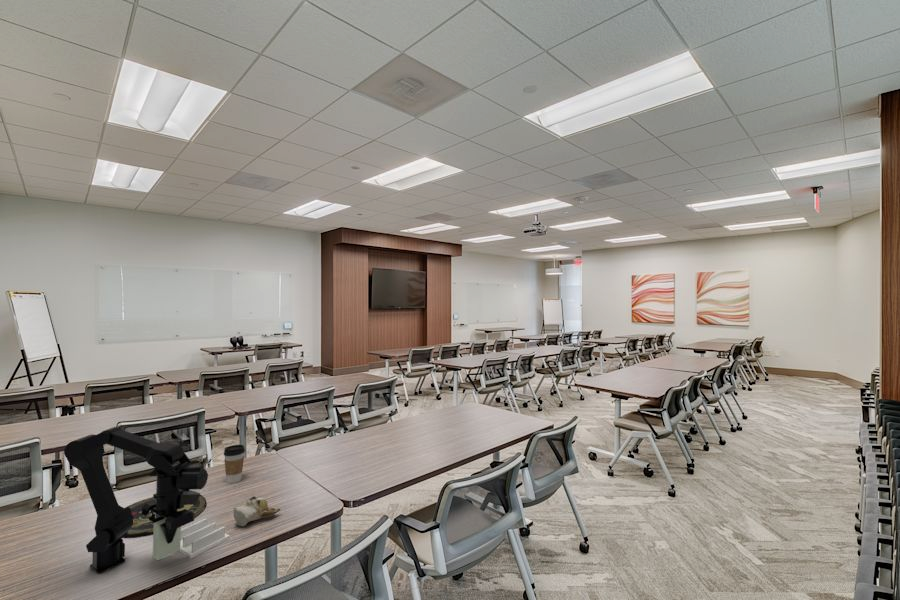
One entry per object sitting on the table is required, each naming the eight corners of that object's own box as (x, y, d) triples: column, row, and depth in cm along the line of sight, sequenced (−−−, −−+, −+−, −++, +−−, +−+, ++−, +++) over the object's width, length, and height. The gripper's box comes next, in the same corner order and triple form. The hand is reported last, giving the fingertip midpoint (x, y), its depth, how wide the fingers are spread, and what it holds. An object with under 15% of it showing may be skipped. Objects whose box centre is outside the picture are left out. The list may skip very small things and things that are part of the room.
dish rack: (191, 558, 120) (191, 545, 120) (169, 545, 127) (169, 533, 127) (229, 538, 131) (229, 526, 131) (207, 527, 137) (207, 516, 137)
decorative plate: (82, 527, 134) (162, 488, 163) (82, 533, 134) (162, 492, 163) (155, 539, 128) (224, 495, 157) (155, 545, 128) (224, 500, 157)
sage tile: (157, 560, 115) (158, 525, 115) (152, 557, 116) (153, 523, 116) (180, 549, 120) (180, 516, 120) (175, 546, 121) (175, 513, 121)
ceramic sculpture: (227, 498, 140) (267, 485, 152) (225, 523, 139) (265, 508, 152) (242, 507, 134) (282, 493, 146) (240, 534, 133) (280, 517, 145)
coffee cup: (218, 483, 172) (219, 448, 172) (234, 475, 180) (234, 442, 180) (233, 485, 169) (234, 450, 170) (248, 477, 177) (249, 444, 178)
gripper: (212, 485, 121) (211, 536, 120) (180, 472, 130) (179, 520, 130) (172, 501, 111) (171, 556, 111) (141, 486, 120) (140, 537, 120)
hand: (167, 541), depth 118 cm, fingers closed on sage tile, 3 cm apart
